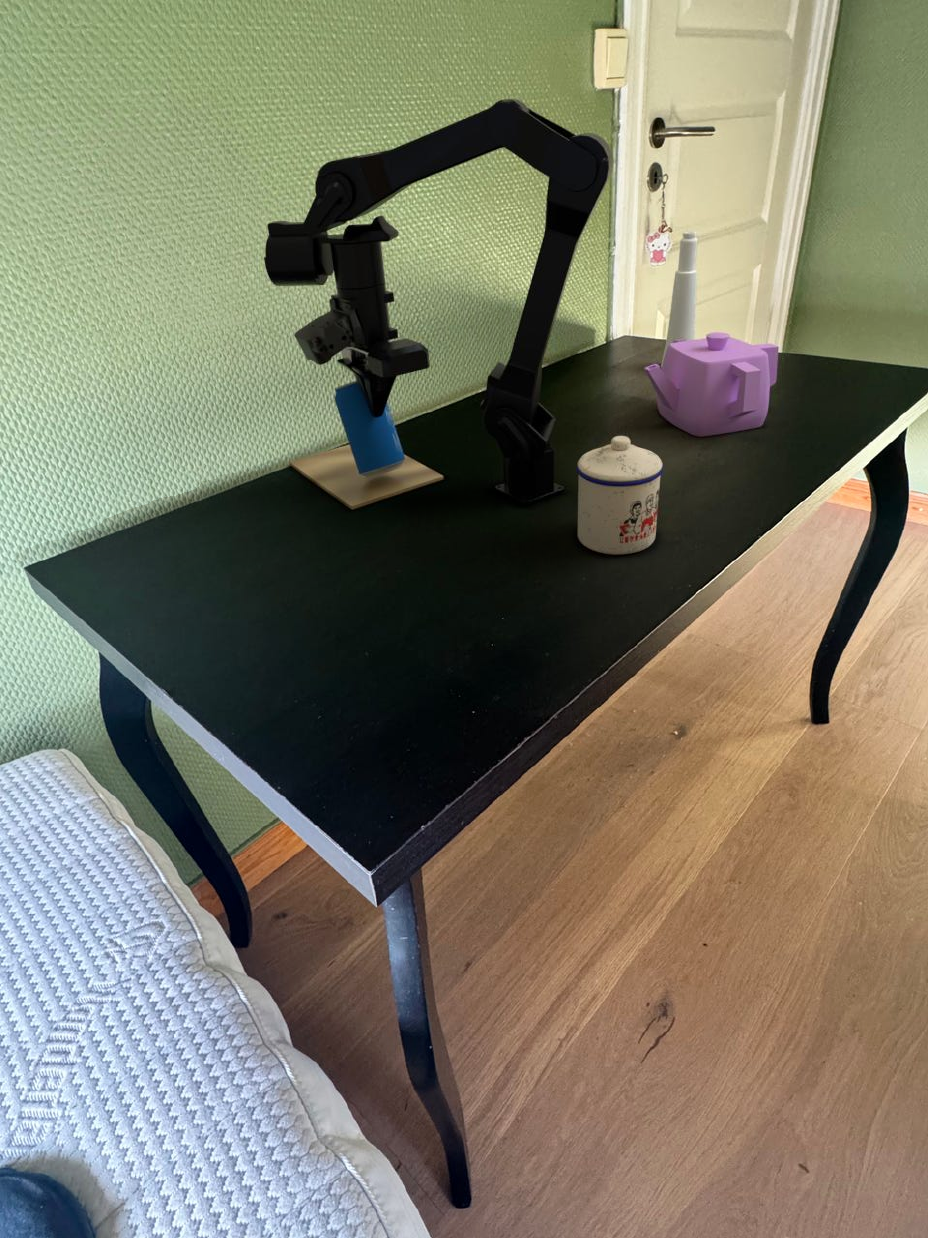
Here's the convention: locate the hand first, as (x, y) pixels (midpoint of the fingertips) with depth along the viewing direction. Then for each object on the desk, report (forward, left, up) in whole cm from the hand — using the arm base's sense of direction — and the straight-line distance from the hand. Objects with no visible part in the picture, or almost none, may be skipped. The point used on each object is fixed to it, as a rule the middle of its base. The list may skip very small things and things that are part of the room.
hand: (377, 416), depth 97 cm
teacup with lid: (-30, -14, -10) cm, 35 cm away
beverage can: (+1, 0, -8) cm, 8 cm away
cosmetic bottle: (+10, -66, -10) cm, 68 cm away
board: (+7, 0, -10) cm, 12 cm away
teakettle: (-11, -49, -10) cm, 51 cm away
